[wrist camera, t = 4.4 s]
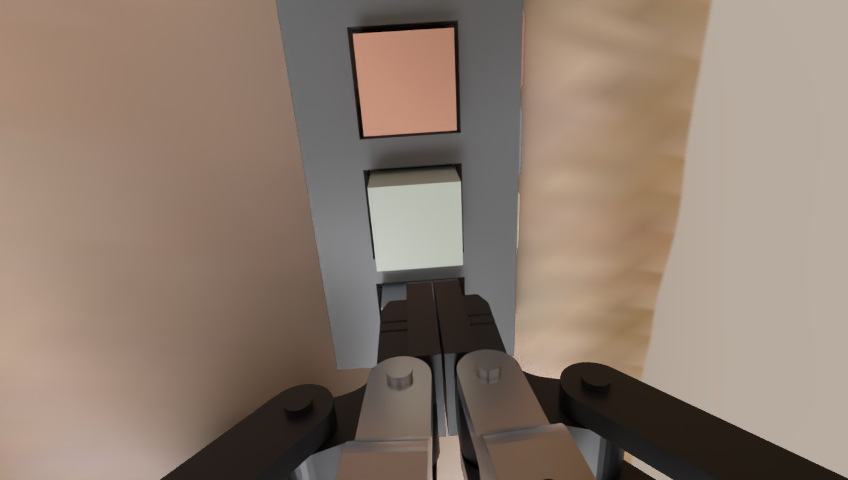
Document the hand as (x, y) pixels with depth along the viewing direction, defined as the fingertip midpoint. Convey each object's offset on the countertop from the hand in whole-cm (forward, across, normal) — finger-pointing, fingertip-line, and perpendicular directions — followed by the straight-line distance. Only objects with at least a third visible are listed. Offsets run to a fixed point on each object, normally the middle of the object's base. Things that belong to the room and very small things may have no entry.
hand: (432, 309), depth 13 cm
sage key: (+10, 0, 0) cm, 10 cm away
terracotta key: (+11, 0, -6) cm, 13 cm away
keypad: (+12, 0, -3) cm, 12 cm away
